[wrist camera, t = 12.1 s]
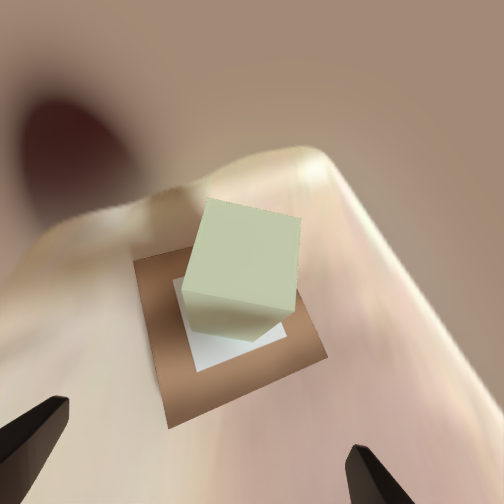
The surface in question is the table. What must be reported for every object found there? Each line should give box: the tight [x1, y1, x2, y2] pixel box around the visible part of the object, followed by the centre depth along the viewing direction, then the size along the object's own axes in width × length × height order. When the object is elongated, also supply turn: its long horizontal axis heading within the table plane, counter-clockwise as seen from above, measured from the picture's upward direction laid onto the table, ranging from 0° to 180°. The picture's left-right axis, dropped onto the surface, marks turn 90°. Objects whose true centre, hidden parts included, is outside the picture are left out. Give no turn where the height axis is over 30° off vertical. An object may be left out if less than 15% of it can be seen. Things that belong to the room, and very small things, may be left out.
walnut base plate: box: [133, 246, 328, 429], centre depth 21 cm, size 12×12×3 cm
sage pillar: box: [181, 198, 301, 343], centre depth 15 cm, size 4×4×10 cm
